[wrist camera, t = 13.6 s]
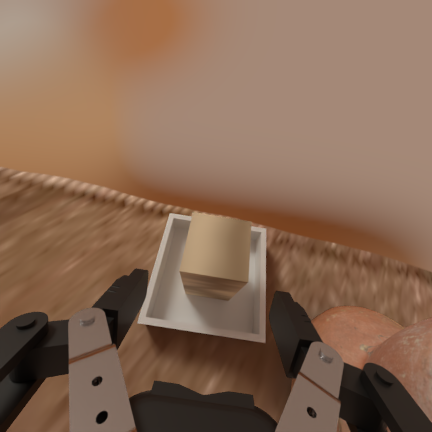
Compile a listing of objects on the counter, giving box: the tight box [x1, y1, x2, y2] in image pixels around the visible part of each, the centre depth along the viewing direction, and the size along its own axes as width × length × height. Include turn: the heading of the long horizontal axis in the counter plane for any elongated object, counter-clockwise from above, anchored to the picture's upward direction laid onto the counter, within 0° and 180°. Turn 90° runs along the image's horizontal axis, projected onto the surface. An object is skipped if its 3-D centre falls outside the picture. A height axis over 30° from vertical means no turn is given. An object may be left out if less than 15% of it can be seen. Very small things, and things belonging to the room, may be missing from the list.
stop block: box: [179, 212, 252, 301], centre depth 20 cm, size 5×5×10 cm
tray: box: [137, 213, 266, 343], centre depth 23 cm, size 12×12×4 cm
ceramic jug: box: [291, 306, 432, 432], centre depth 14 cm, size 18×14×14 cm
